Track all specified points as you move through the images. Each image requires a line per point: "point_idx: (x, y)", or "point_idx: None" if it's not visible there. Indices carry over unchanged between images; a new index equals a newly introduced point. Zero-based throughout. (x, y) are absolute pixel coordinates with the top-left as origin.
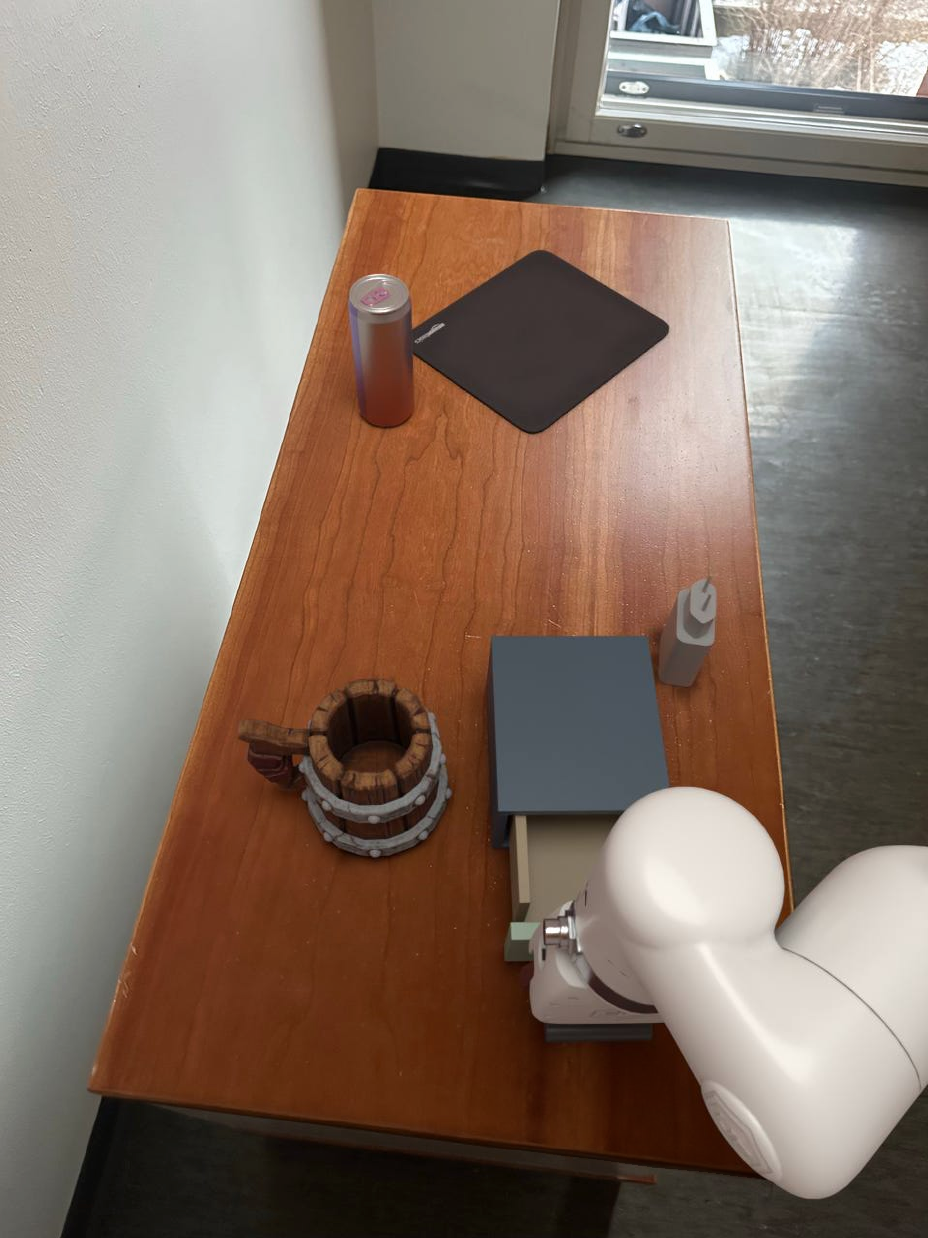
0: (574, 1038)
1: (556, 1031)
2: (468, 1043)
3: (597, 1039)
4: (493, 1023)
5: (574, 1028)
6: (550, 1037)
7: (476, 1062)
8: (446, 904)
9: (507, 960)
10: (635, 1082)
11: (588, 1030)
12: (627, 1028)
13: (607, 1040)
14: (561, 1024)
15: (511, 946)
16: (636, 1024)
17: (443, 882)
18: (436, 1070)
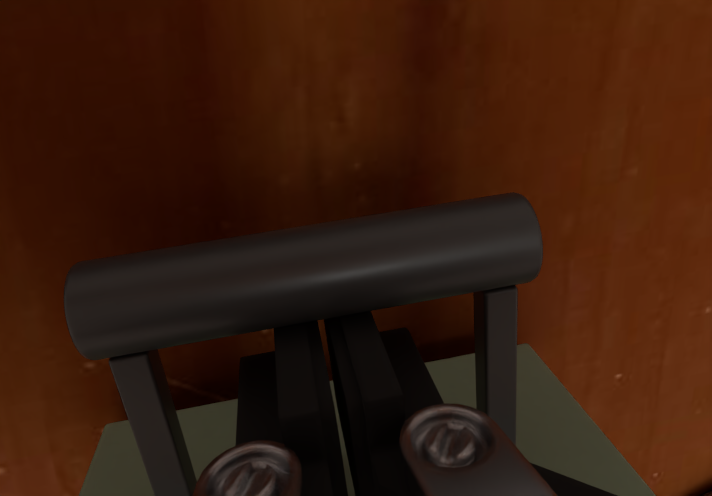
0: (419, 232)
1: (504, 251)
2: (613, 131)
3: (317, 242)
4: (546, 189)
5: (428, 275)
6: (523, 222)
7: (597, 86)
8: (632, 415)
9: (527, 351)
10: (129, 85)
11: (366, 276)
12: (188, 313)
13: (271, 243)
14: (479, 278)
15: (632, 477)
16: (147, 334)
17: (633, 452)
18: (701, 53)
